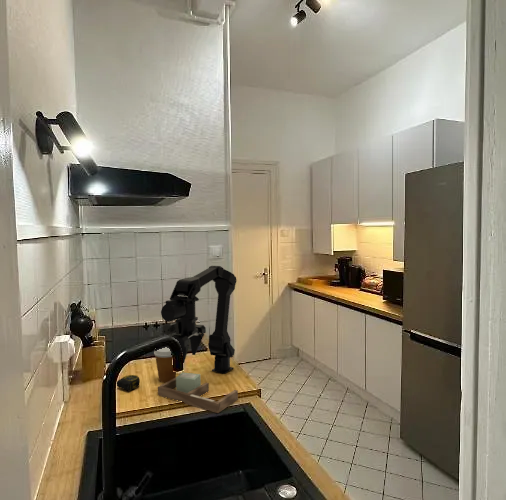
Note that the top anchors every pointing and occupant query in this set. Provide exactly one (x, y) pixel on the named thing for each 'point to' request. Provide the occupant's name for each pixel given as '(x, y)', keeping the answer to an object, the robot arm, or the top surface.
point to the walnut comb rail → (197, 396)
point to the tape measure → (128, 382)
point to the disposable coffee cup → (164, 365)
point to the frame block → (187, 382)
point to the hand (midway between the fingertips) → (188, 359)
